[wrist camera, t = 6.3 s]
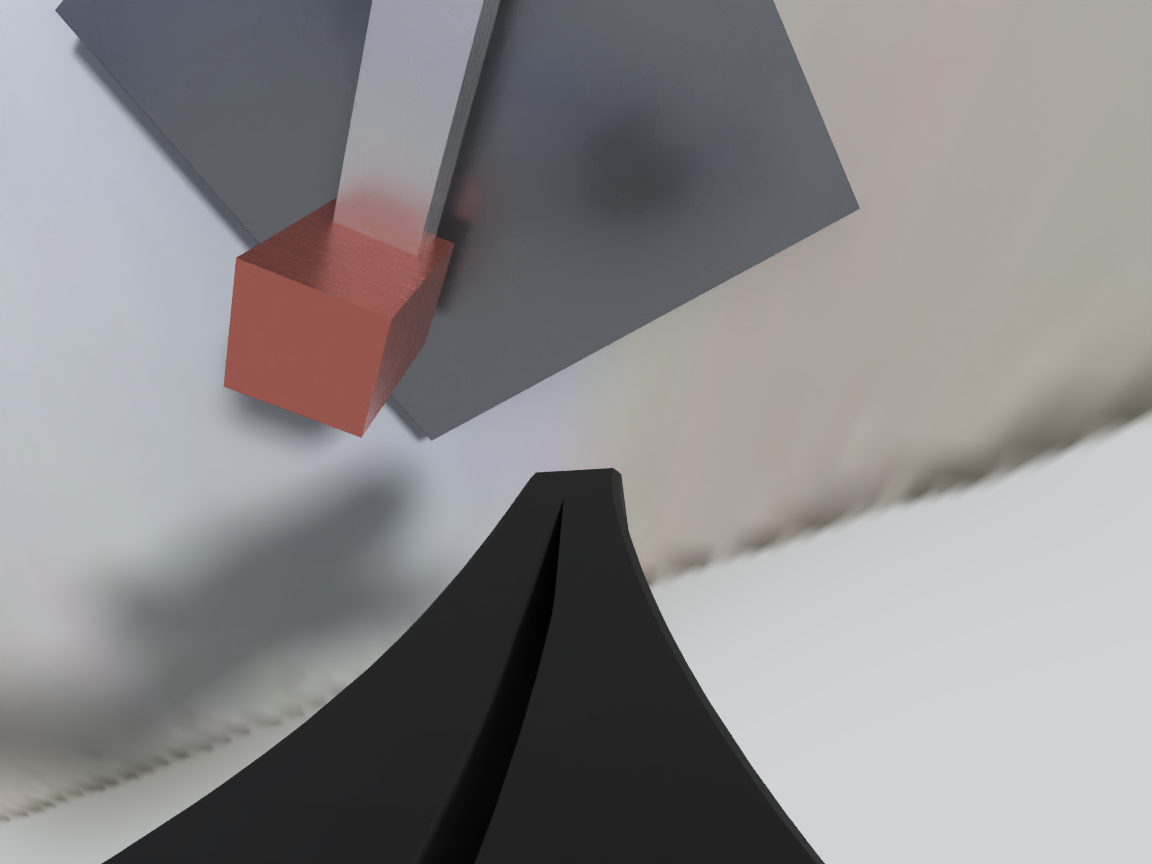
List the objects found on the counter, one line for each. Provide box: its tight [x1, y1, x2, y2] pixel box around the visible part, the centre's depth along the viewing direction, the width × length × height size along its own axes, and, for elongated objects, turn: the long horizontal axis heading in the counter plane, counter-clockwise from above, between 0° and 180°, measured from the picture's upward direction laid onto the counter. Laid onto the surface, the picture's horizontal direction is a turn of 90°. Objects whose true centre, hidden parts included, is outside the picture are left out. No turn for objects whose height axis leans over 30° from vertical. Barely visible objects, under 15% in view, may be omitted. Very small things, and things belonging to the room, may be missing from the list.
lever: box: [224, 0, 500, 438], centre depth 13 cm, size 12×3×5 cm, turn 158°
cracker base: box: [55, 0, 860, 441], centre depth 14 cm, size 14×14×7 cm
